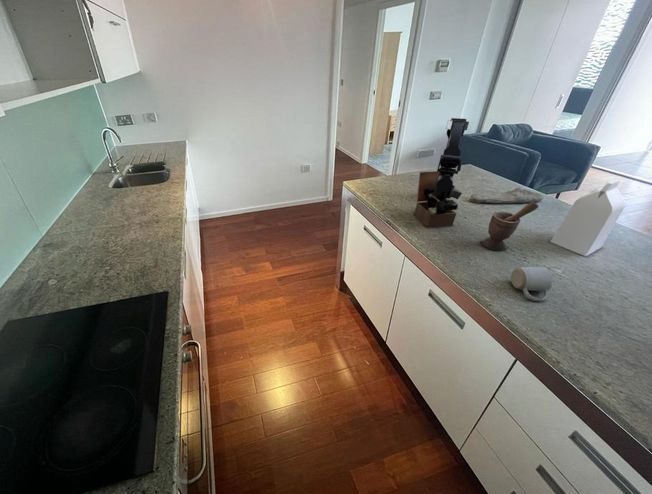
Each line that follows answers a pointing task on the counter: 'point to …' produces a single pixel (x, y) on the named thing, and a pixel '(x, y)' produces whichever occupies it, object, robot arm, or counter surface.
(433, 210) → the block
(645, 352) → the counter surface
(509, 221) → the mortar and pestle
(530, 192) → the elongated rock
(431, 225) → the chest
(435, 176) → the lid
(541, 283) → the ceramic mug
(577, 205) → the milk
